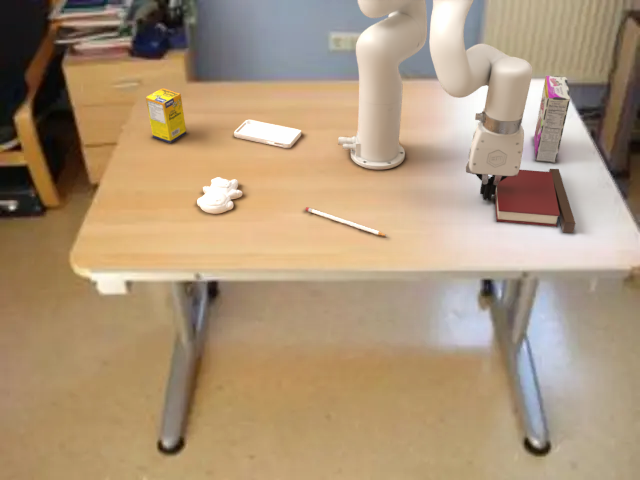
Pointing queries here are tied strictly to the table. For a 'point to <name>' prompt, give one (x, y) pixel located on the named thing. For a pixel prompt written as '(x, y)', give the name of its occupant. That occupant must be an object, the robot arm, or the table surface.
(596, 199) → the table surface
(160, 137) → the supplement box
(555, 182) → the rail
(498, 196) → the book
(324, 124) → the table surface
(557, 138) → the candy bar box
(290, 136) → the phone case
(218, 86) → the table surface
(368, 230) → the pencil
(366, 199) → the table surface
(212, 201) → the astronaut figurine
